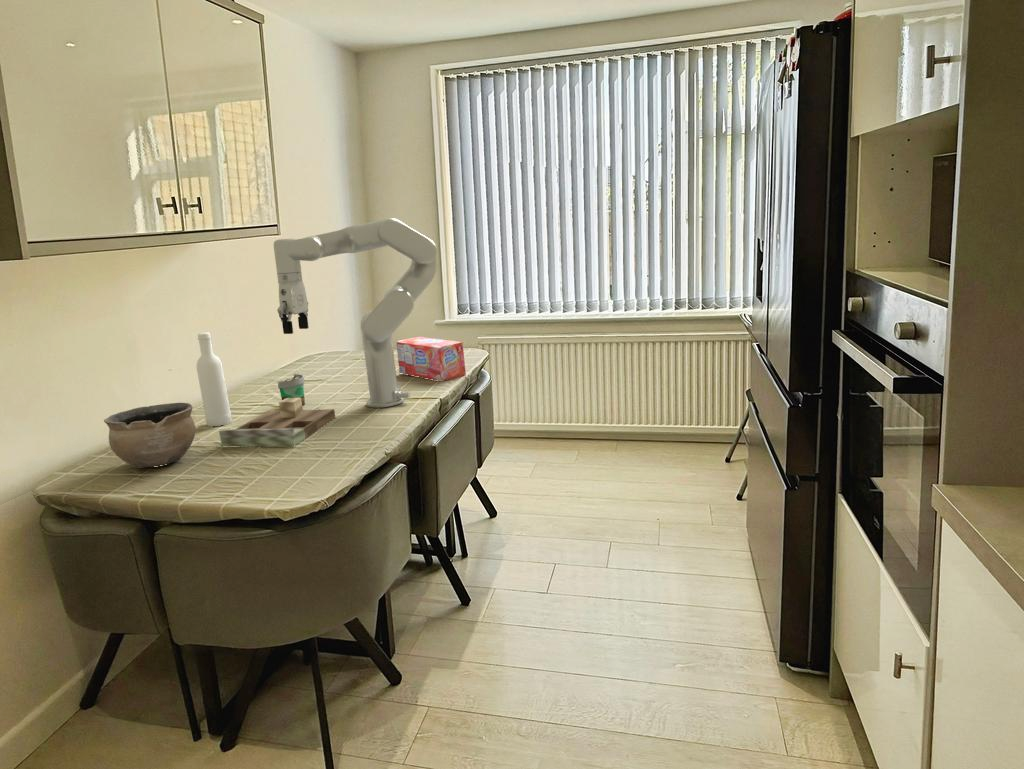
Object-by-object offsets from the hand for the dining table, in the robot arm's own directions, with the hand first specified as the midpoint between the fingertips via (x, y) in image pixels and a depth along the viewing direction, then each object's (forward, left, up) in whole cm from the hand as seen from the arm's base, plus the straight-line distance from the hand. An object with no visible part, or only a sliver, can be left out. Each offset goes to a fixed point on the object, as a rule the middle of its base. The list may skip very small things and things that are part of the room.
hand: (296, 331), depth 245 cm
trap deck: (-1, +21, -28) cm, 35 cm away
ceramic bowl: (+22, +48, -28) cm, 60 cm away
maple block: (-1, +13, -25) cm, 28 cm away
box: (-27, -51, -28) cm, 64 cm away
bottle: (+27, +10, -28) cm, 40 cm away
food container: (+9, -10, -28) cm, 31 cm away
